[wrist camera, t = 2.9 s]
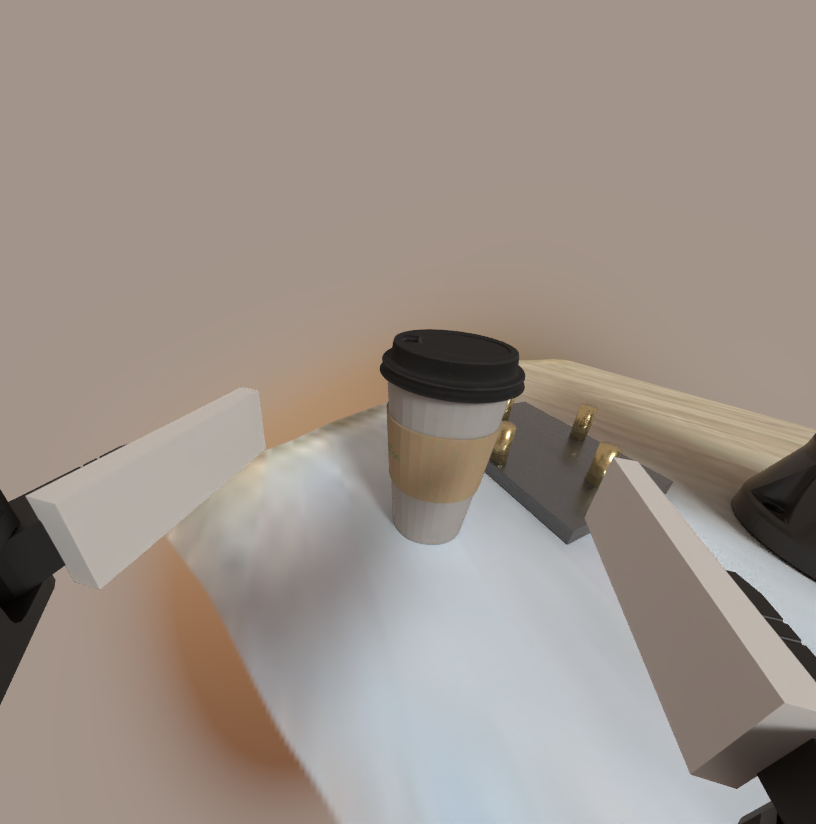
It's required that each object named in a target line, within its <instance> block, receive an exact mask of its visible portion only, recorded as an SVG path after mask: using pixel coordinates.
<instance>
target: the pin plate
mask: <svg viewBox="0 0 816 824" xmlns="http://www.w3.org/2000/svg"><path fill="white" fill-rule="evenodd" d="M513 401H514V398H513V399H510V400H509V401H508V404H507V406H506V409H505V412H504V415H503V417H502V427H501V429H500V432H499V435H498V437H497V440H496V442H495V445H494V448H493V450H492V453H491V456H490V458H489V461H488V463H487V466H486V469H485V472H486V473H487V474H488V475H489V476H490V477H491V478H493V479H494V480H495V481H496V482H497V483H498V484H499V485H500V486H502V487H503V488H504V489H505V490H506V491H507V492H508V493H510V494H511V495H512V496H513V497H514V498H515V499H516V500H517V501H519V502H520V503H521V504H522V505H523V506H524V507H525V508H527V509H528V510H529V511H530V512H531V513H532V514H533V515H534V516H536V517H537V518H538V519H539V520H540V521H541V522H542V523H544V524H545V525H546V526H547V527H548V528H549V529H550V530H551V531H553V532H554V533H555V534H556V535H557V536H558V537H559V538H561V539H562V540H563V541H564V542H565V543H566V544H569V543H571V542H573V541H575V540H577V539H579V538H581V537H583V536H585V535H587V534H589V533H590V531H589V528H588V526H587V523H586V521H585V518H584V517H585V515H586V513H587V511H588V509H589V507H590V505H591V503H592V501H593V498H594V496H595V494H596V492H597V490H598V488H599V486H600V484H601V481H602V479H603V477H604V475H605V473H606V471H607V469H608V467H609V464H610V462H611V460H612V458H613V457H616V458H622V459H627V460H632V459H630V458H628V457H626V456H624V455H623V454H621V451H622V450H621V448H620V447H618V446H617V445H615V444H612V443H609V442H598V441H597V440H595V439H593V438H591V437H589V436H587V434H588V432H589V429H590V427H591V424H592V422H593V419H594V417H595V414H596V412H597V408H596V407H594V406H592V405H588V404H581V406H580V408H579V411H578V414H577V416H576V419H575V422H574V425H573V427H571V426H569V425H567V424H565V423H563V422H561V421H559V420H558V419H556V418H554V417H552V416H550V415H548V414H546V413H545V412H543V411H541V410H539V409H537V408H535V407H533V406H532V405H530V404H528V403H526V402H521V403H516V404H513ZM632 461H634V460H632ZM640 465H641V464H640ZM641 466H642V467H643V469H644V470H645V471H646V472H647V474H648V475H649V476H650V477H651V479H652V480H653V481H654V482H655V484H656V485H657V486H658V487H659V489H660V490H661V491H662V492H663V493H664V494H666V493H667V491H668V490H669V488H670V486H671V485H672V483H673V481H671V480H669V479H667V478H665V477H663V476H661V475H660V474H658V473H656V472H654V471H652V470H650V469H648V468H647V467H645V466H643V465H641Z"/></svg>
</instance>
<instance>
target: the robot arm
mask: <svg viewBox="0 0 816 824" xmlns="http://www.w3.org/2000/svg"><path fill="white" fill-rule="evenodd" d="M264 450H265V440H264V432H263V424H262V416H261V407H260V399H259V391H258V390H254V389H249V388H244V387H240V388H238V389H236V390H234V391H233V392H230V393H228V394H226V395H224V396H222V397H220V398H219V399H216V400H214V401H212V402H211V403H208V404H207V405H205V406H203V407H201V408H199V409H197V410H195V411H193V412H191V413H189V414H187V415H185V416H183V417H181V418H179V419H177V420H175V421H173V422H171V423H169V424H167V425H165V426H163V427H161V428H159V429H157V430H155V431H153V432H151V433H149V434H147V435H145V436H143V437H141V438H139V439H137V440H135V441H133V442H131V443H129V444H127V445H123V446H120V447H118V448H116V449H114V450H112V451H110V452H108V453H106V454H104V455H102V456H100V458H99V459H94V460H92V461H90V462H88V463H86V464H84V465H83V467H78V468H76V469H74V470H72V471H70V472H68V473H66V474H64V475H62V476H60V477H58V478H56V479H54V480H52V481H50V482H48V483H46V484H44V485H42V486H40V487H38V488H36V489H34V490H32V491H30V492H28V493H26V494H24V495H22V496H20V497H18V498H16V499H14V500H11V501H9V502H8V501H7V500H6V498H5V496H4V495H3V493H2V491H1V490H0V704H1V702H2V700H3V698H4V695H5V694H6V691H7V689H8V687H9V685H10V683H11V681H12V678H13V676H14V674H15V672H16V670H17V667H18V665H19V663H20V661H21V659H22V657H23V654H24V652H25V650H26V648H27V646H28V644H29V641H30V639H31V637H32V635H33V633H34V631H35V628H36V626H37V624H38V622H39V620H40V618H41V615H42V613H43V611H44V608H45V607H46V605H47V602H48V600H49V598H50V596H51V594H52V591H53V589H54V586H55V579H54V577H53V575H52V574H53V573H55V572H56V571H58V570H59V569H61V568H62V567H63V566H66V568H67V570H68V572H69V573H70V575H71V577H72V579H73V580H74V582H76V583H80V584H83V585H86V586H89V587H93V588H96V589H99V590H100V589H102V588H103V587H104V586H105V585H106V584H107V583H109V582H110V581H111V580H112V579H113V578H114V577H116V576H117V575H118V574H119V573H120V572H122V571H123V570H124V569H125V568H126V567H127V566H129V565H130V564H131V563H132V562H133V561H134V560H136V559H137V558H138V557H139V556H140V555H142V554H143V553H144V552H145V551H146V550H147V549H149V548H150V547H151V546H152V545H153V544H154V543H155V542H157V541H158V540H159V539H160V538H162V537H163V536H164V535H165V534H166V533H167V532H169V531H170V530H171V529H172V528H173V527H174V526H176V525H177V524H178V523H179V522H180V521H181V520H183V519H184V518H185V517H186V516H187V515H189V514H190V513H191V512H192V511H193V510H194V509H196V508H197V507H198V506H199V505H200V504H201V503H203V502H204V501H205V500H206V499H207V498H208V497H210V496H211V495H212V494H213V493H214V492H216V491H217V490H218V489H219V488H220V487H221V486H223V485H224V484H225V483H226V482H227V481H228V480H230V479H231V478H232V477H233V476H234V475H236V474H237V473H238V472H239V471H240V470H241V469H243V468H244V467H245V466H246V465H247V464H248V463H250V462H251V461H252V460H253V459H254V458H255V457H257V456H258V455H259V454H260V453H261V452H263V451H264ZM732 507H733V510H734V512H735V514H736V516H737V517H738V519H739V520H740V521H741V522H742V524H743V525H744V526H745V527H746V528H747V529H748V530H749V531H750V532H751V533H752V534H753V535H754V536H755V537H756V538H757V539H758V540H760V541H761V542H762V543H763V544H764V545H766V546H767V547H768V548H769V549H771V550H772V551H773V552H775V553H776V554H777V555H779V556H780V557H782V558H783V559H784V560H786V561H787V562H789V563H790V564H792V565H793V566H795V567H796V568H798V569H799V570H801V571H802V572H804V573H806V574H807V575H809V576H810V577H812V578H814V579H815V580H816V434H815V435H814V436H813V437H812V438H811V440H810V441H809V442H808V443H807V444H806V445H804V446H803V447H801V448H800V449H798V450H796V451H795V452H793V453H791V454H790V455H788V456H786V457H785V458H783V459H782V460H780V461H778V462H777V463H775V464H773V465H772V466H770V467H768V468H767V469H765V470H763V471H762V472H760V473H759V474H757V475H755V476H754V477H752V478H750V479H749V480H748V481H746V482H745V483H744V485H743V486H742V487H741V489H740V490H739V491H738V493H737V494H736V495H735V497H734V498H733V500H732ZM584 518H585V521H586V523H587V526H588V528H589V531H590V533H591V535H592V538H593V540H594V543H595V545H596V547H597V550H598V552H599V555H600V557H601V560H602V562H603V564H604V567H605V569H606V572H607V574H608V576H609V579H610V581H611V584H612V586H613V589H614V591H615V593H616V596H617V598H618V601H619V603H620V605H621V608H622V610H623V613H624V615H625V617H626V620H627V622H628V625H629V627H630V630H631V632H632V634H633V637H634V639H635V642H636V644H637V646H638V649H639V651H640V654H641V656H642V659H643V661H644V663H645V666H646V668H647V671H648V673H649V675H650V678H651V680H652V683H653V685H654V688H655V690H656V692H657V695H658V697H659V700H660V702H661V704H662V707H663V709H664V712H665V714H666V717H667V719H668V721H669V724H670V726H671V729H672V731H673V733H674V736H675V738H676V741H677V743H678V745H679V748H680V750H681V753H682V755H683V758H684V760H685V762H686V765H687V767H688V770H689V772H690V774H691V775H694V776H697V777H700V778H704V779H707V780H710V781H713V782H716V783H720V784H723V785H726V786H729V787H732V788H736V789H737V788H739V787H741V786H742V785H744V784H745V783H747V782H749V781H750V780H752V779H753V778H755V777H756V776H758V777H759V779H760V781H761V783H762V785H763V787H764V789H765V790H766V792H767V794H768V796H769V798H770V800H771V802H769V803H767V804H765V805H763V806H762V807H760V808H758V809H756V810H754V811H753V812H751V813H749V814H747V815H745V816H744V817H742V818H741V819H740V821H739V823H738V824H816V657H815V656H814V654H813V653H812V652H811V651H810V650H809V649H808V647H807V646H804V645H802V644H801V639H800V638H799V637H798V636H797V635H796V633H795V632H794V631H793V630H792V629H791V628H790V626H789V625H788V624H785V623H783V618H782V617H781V616H780V615H779V614H778V612H777V611H776V610H775V609H774V608H773V607H772V605H771V604H770V603H769V602H768V601H767V600H766V598H765V597H764V596H763V595H762V594H761V593H760V592H758V591H757V590H756V589H755V588H754V587H752V586H751V585H750V584H749V583H748V582H746V581H745V580H744V579H743V578H742V577H740V576H739V575H738V574H737V573H735V572H732V571H727V570H725V569H724V568H723V567H722V565H721V564H720V563H719V562H718V560H717V559H716V558H715V557H714V555H713V554H712V553H711V552H710V550H709V549H708V548H707V547H706V545H705V544H704V543H703V542H702V541H701V539H700V538H699V537H698V536H697V534H696V533H695V532H694V531H693V529H692V528H691V527H690V526H689V524H688V523H687V522H686V521H685V519H684V518H683V517H682V516H681V515H680V513H679V512H678V511H677V510H676V508H675V507H674V506H673V505H672V503H671V502H670V501H669V500H668V498H667V497H666V496H665V495H664V493H663V492H662V491H661V490H660V489H659V487H658V486H657V485H656V484H655V482H654V481H653V480H652V479H651V477H650V476H649V475H648V474H647V472H646V471H645V470H644V469H643V467H642V466H641V465H640V464H639V463H638V461H632V460H627V459H622V458H616V457H613V458H612V460H611V462H610V464H609V467H608V469H607V471H606V473H605V475H604V477H603V479H602V481H601V484H600V486H599V488H598V490H597V492H596V494H595V496H594V498H593V501H592V503H591V505H590V507H589V509H588V511H587V513H586V515H585V517H584Z"/></svg>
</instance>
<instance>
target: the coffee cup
mask: <svg viewBox="0 0 816 824" xmlns="http://www.w3.org/2000/svg"><path fill="white" fill-rule="evenodd" d="M382 361H383V362H382V364H381V366H380V372H381V374H382V375H383V377H384V378H385V379H386V380H388V397H389V401H388V404H387V427H388V451H389V473H390V477H391V480H392V499H393V519H394V523H395V525H396V527H397V529H398V531H399V532H400V533H401V534H402V535H403V536H405V537H406V538H408V539H410V540H412V541H414V542H418V543H421V544H428V545H436V544H443V543H446V542H449V541H451V540H452V539H454V538H455V537H456V536H457V534H458V533H459V531H460V528H461V526H462V523H463V521H464V518H465V515H466V513H467V510H468V508H469V505H470V502H471V500H472V497H473V495H474V494H475V493H476V491H477V489H478V487H479V484H480V482H481V479H482V477H483V474H484V471H485V469H486V466H487V463H488V461H489V458H490V456H491V453H492V450H493V448H494V445H495V442H496V440H497V437H498V435H499V432H500V429H501V427H502V417H503V415H504V412H505V409H506V406H507V404H508V401H509V400H510V399H513V398H516V397H517V396H519V395H520V394H522V392H523V391H524V388H525V386H524V380H525V373H524V371H523V369H522V368H521V367H520V366H519V365H518V362H519V352H518V351H517V350H516V349H515V348H514V347H512V346H510V345H508V344H506V343H504V342H502V341H499V340H496V339H493V338H489V337H485V336H481V335H477V334H471V333H465V332H458V331H448V330H431V329H428V330H412V331H406V332H403V333H400V334H398V335H396V336H395V338H394V341H393V346H392V348H391V349H389V350H387V351H386V352H385V353H384V355H383V357H382Z"/></svg>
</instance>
